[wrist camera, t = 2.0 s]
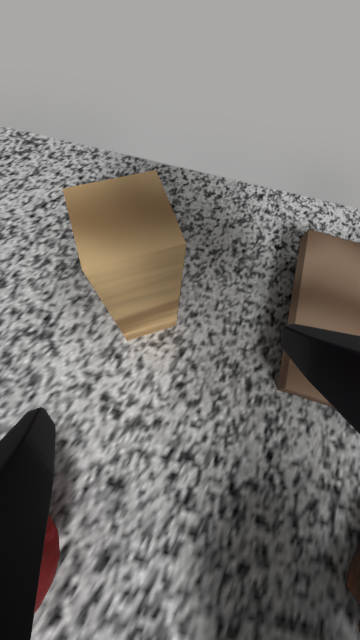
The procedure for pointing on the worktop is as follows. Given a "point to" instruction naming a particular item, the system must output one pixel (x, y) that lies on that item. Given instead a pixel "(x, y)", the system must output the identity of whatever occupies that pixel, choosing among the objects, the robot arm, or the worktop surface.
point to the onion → (48, 561)
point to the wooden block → (130, 249)
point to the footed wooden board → (322, 299)
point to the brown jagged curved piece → (355, 577)
